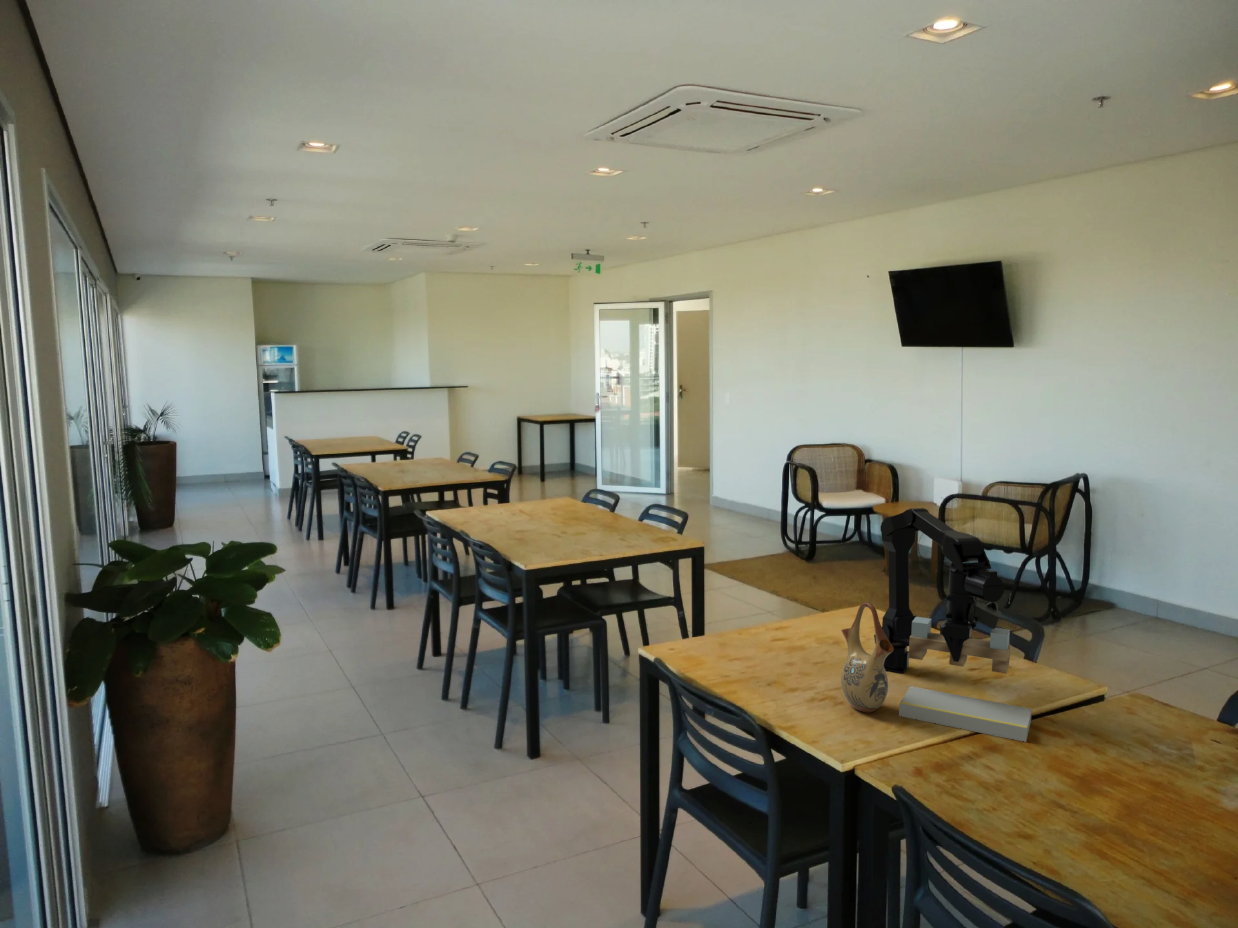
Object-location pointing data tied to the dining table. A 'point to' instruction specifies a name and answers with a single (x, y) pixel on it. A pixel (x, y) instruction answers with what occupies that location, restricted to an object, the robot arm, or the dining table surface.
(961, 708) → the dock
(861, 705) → the ceramic vessel
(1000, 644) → the block
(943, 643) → the pallet
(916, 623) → the grey small block
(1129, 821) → the dining table surface
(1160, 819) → the dining table surface
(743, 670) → the dining table surface
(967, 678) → the dining table surface
